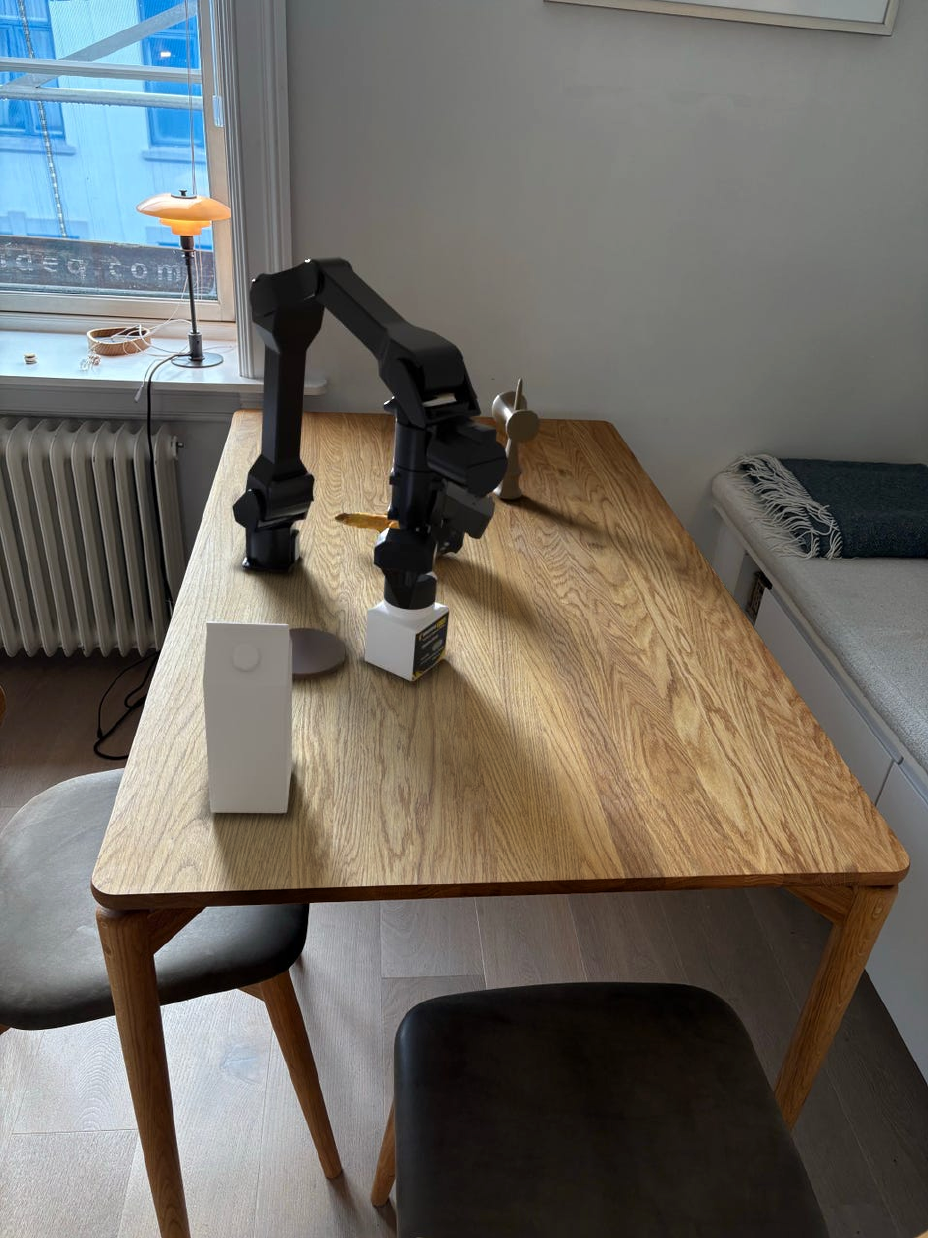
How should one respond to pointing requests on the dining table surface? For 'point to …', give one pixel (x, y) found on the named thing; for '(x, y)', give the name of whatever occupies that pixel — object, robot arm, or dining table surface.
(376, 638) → the medicine bottle
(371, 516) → the fried shrimp in bowl
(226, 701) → the milk carton
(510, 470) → the kendama
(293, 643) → the coaster
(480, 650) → the dining table surface
